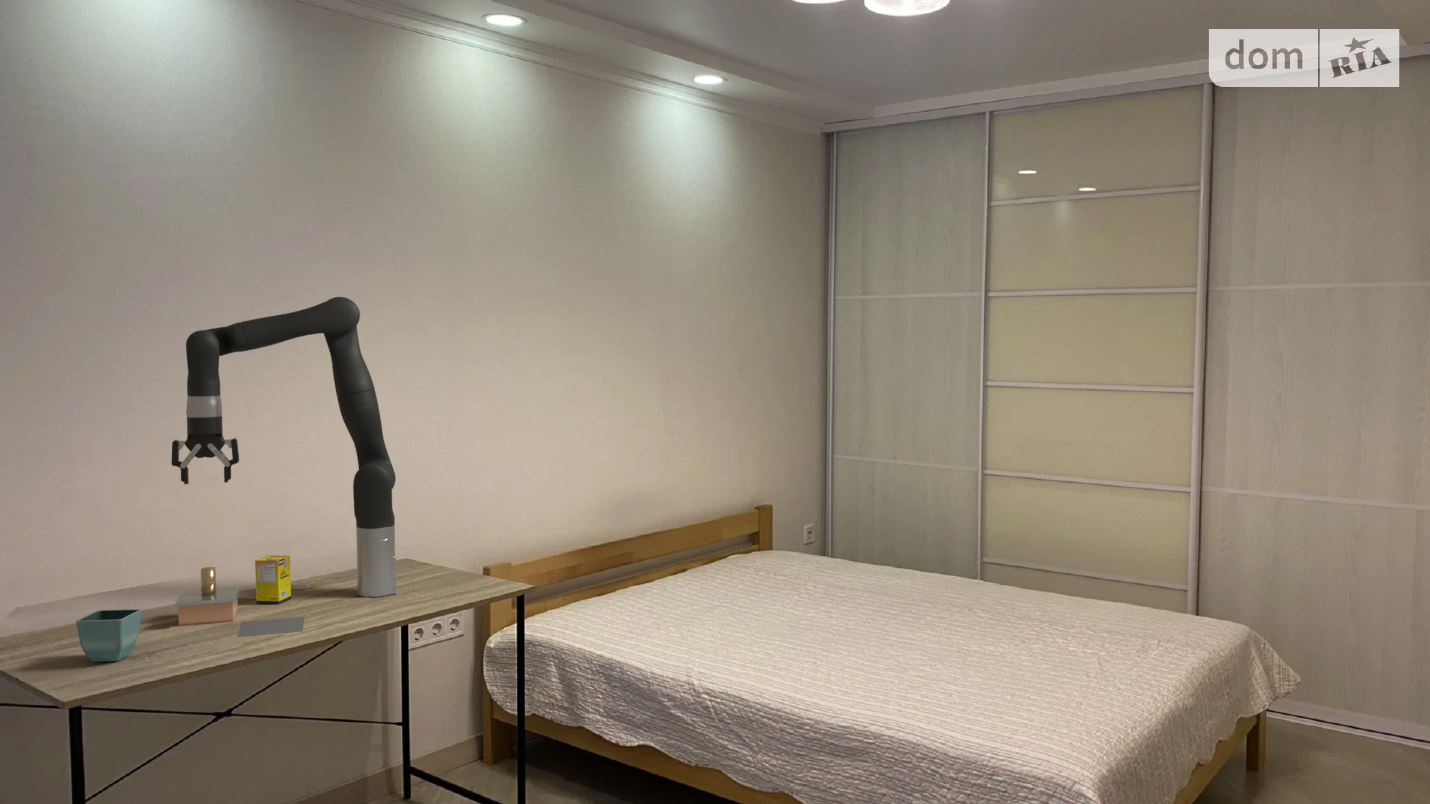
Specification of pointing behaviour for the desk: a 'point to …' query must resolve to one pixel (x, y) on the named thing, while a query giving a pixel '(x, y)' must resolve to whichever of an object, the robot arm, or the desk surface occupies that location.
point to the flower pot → (109, 633)
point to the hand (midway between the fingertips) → (206, 483)
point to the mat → (271, 626)
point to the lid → (208, 591)
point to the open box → (207, 613)
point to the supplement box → (273, 579)
